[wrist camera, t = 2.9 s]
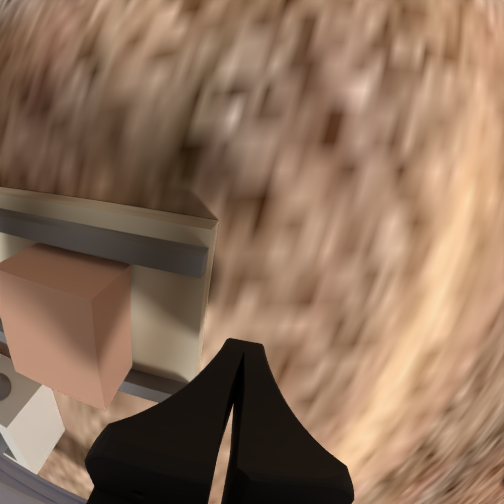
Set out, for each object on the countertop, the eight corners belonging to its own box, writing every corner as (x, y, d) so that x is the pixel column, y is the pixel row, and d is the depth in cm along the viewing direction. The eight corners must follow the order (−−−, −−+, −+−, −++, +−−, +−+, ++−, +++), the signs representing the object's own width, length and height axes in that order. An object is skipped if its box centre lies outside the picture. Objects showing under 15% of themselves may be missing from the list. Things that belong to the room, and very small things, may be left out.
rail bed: (-36, 300, 16) (-82, 333, 11) (-50, 180, 13) (-109, 198, 8) (198, 386, 16) (172, 467, 11) (218, 220, 13) (180, 270, 8)
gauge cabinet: (12, 402, 19) (-20, 441, 14) (-8, 345, 17) (-51, 384, 12) (65, 429, 19) (35, 476, 14) (47, 374, 17) (5, 425, 12)
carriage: (49, 337, 14) (15, 370, 11) (38, 242, 12) (-9, 267, 9) (132, 365, 14) (105, 410, 11) (131, 264, 12) (91, 300, 9)
